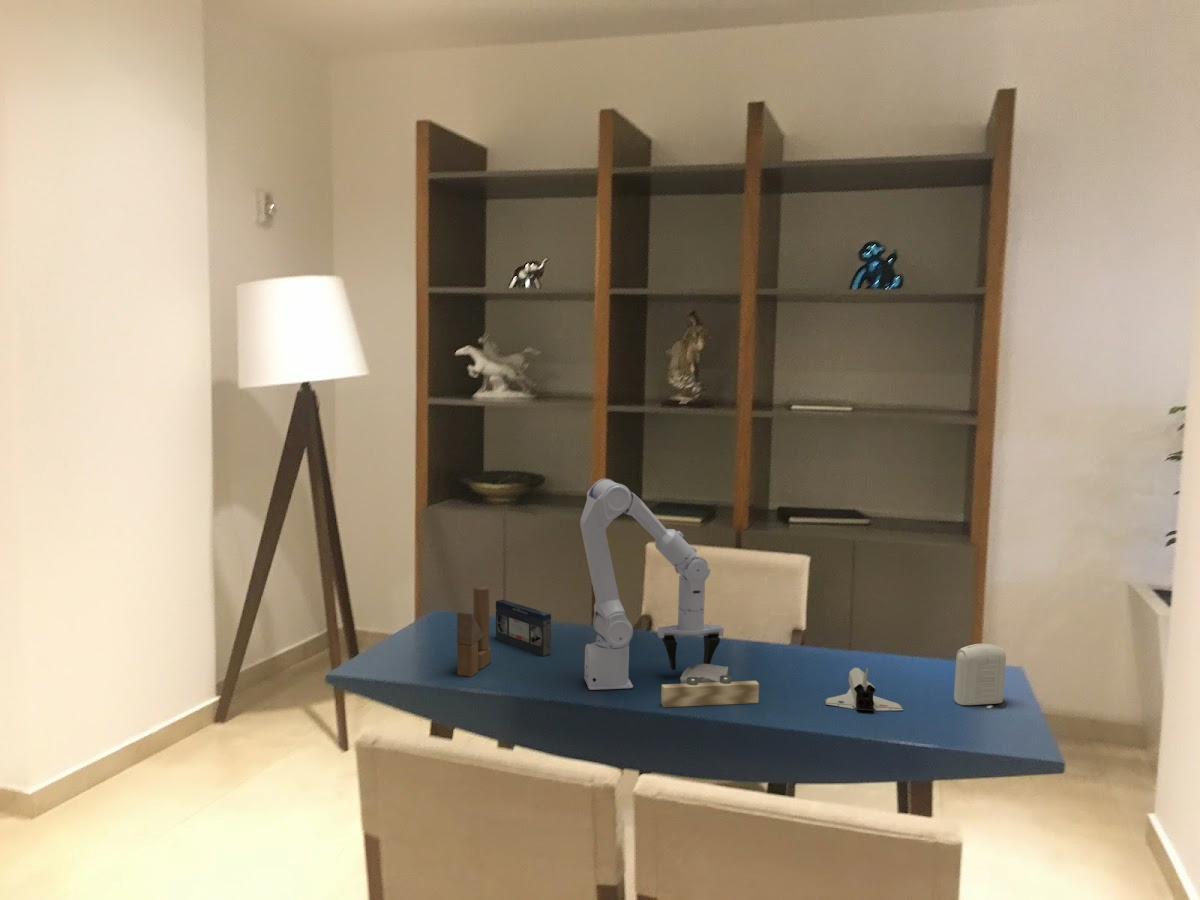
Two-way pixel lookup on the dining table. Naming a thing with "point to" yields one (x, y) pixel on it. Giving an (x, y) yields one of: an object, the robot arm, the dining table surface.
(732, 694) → the bench stop
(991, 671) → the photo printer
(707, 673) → the stone block
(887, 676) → the dining table surface
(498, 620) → the vhs cassette tape
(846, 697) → the space shuttle model
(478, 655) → the stacked wooden blocks
